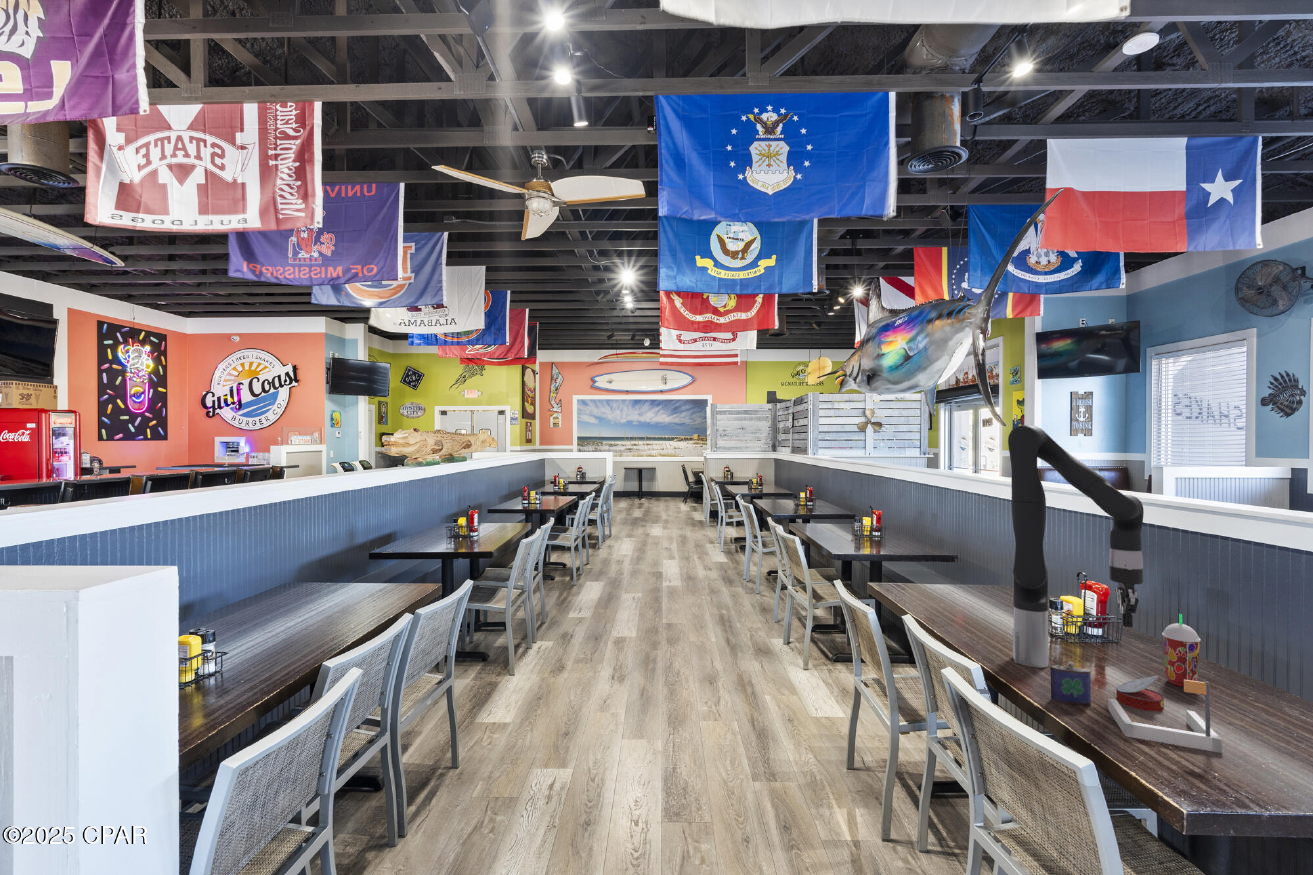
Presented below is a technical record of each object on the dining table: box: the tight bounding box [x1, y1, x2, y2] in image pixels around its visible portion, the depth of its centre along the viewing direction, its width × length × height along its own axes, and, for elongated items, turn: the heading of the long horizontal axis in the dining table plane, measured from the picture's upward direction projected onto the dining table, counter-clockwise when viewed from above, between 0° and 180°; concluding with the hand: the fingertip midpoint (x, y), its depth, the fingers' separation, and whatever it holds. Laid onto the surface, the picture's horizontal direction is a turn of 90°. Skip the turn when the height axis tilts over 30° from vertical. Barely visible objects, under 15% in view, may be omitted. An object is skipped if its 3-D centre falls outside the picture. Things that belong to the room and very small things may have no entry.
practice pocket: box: [1107, 680, 1223, 754], centre depth 141 cm, size 17×16×15 cm
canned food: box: [1115, 675, 1165, 712], centre depth 156 cm, size 11×10×10 cm
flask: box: [1049, 661, 1092, 706], centre depth 156 cm, size 9×3×11 cm, turn 74°
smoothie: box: [1161, 613, 1201, 688], centre depth 170 cm, size 8×8×20 cm
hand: (1127, 626), depth 166 cm, fingers closed
